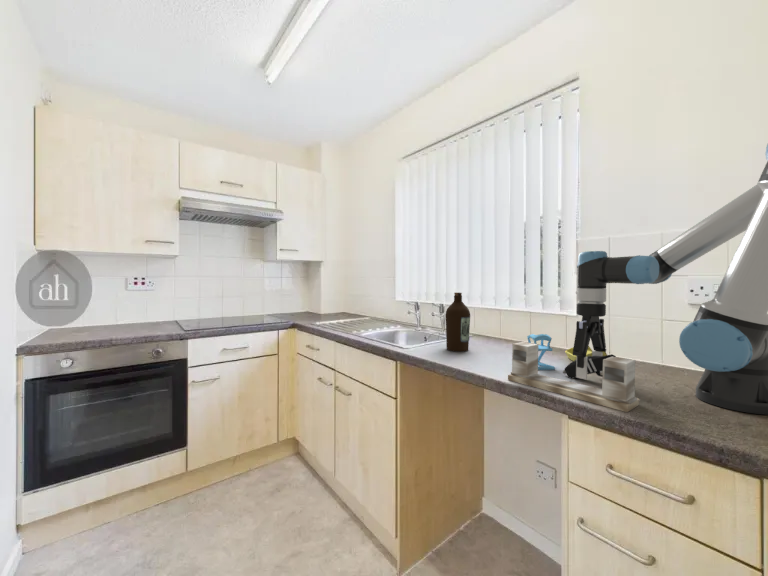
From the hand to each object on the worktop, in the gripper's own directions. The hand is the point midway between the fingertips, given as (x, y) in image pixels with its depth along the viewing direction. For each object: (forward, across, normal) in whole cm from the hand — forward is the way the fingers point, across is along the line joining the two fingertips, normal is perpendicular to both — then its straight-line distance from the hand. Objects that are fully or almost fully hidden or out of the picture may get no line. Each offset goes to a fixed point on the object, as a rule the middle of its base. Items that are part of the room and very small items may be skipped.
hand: (589, 375), depth 102 cm
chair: (+2, -4, -18) cm, 19 cm away
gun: (+2, 0, 0) cm, 2 cm away
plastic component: (+2, -24, -10) cm, 26 cm away
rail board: (+2, +15, 0) cm, 15 cm away
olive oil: (+2, -3, -54) cm, 54 cm away
